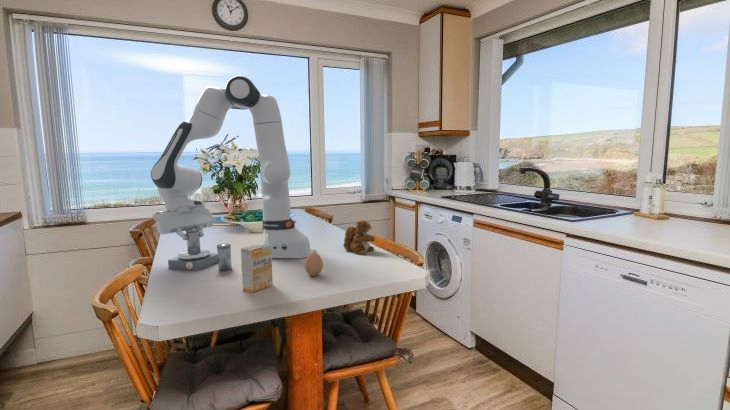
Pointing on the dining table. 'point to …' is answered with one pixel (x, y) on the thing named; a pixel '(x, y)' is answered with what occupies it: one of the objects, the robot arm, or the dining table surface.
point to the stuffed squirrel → (358, 238)
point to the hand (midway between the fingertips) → (193, 237)
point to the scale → (193, 262)
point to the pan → (193, 255)
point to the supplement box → (256, 267)
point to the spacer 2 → (224, 257)
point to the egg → (313, 264)
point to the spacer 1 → (193, 241)
